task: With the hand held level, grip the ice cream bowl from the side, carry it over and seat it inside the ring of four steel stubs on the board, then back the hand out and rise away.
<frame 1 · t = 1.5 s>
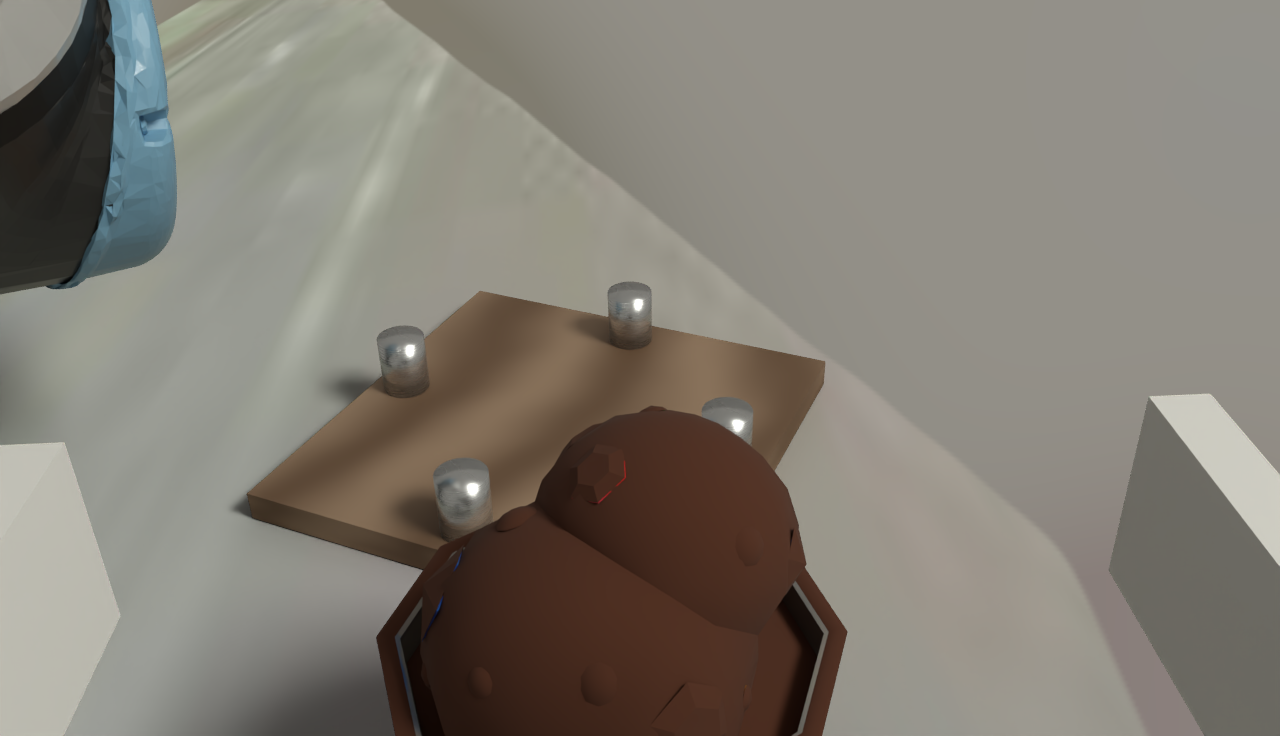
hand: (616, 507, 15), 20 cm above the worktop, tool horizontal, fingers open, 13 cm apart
stub board: (559, 445, 51), on the worktop
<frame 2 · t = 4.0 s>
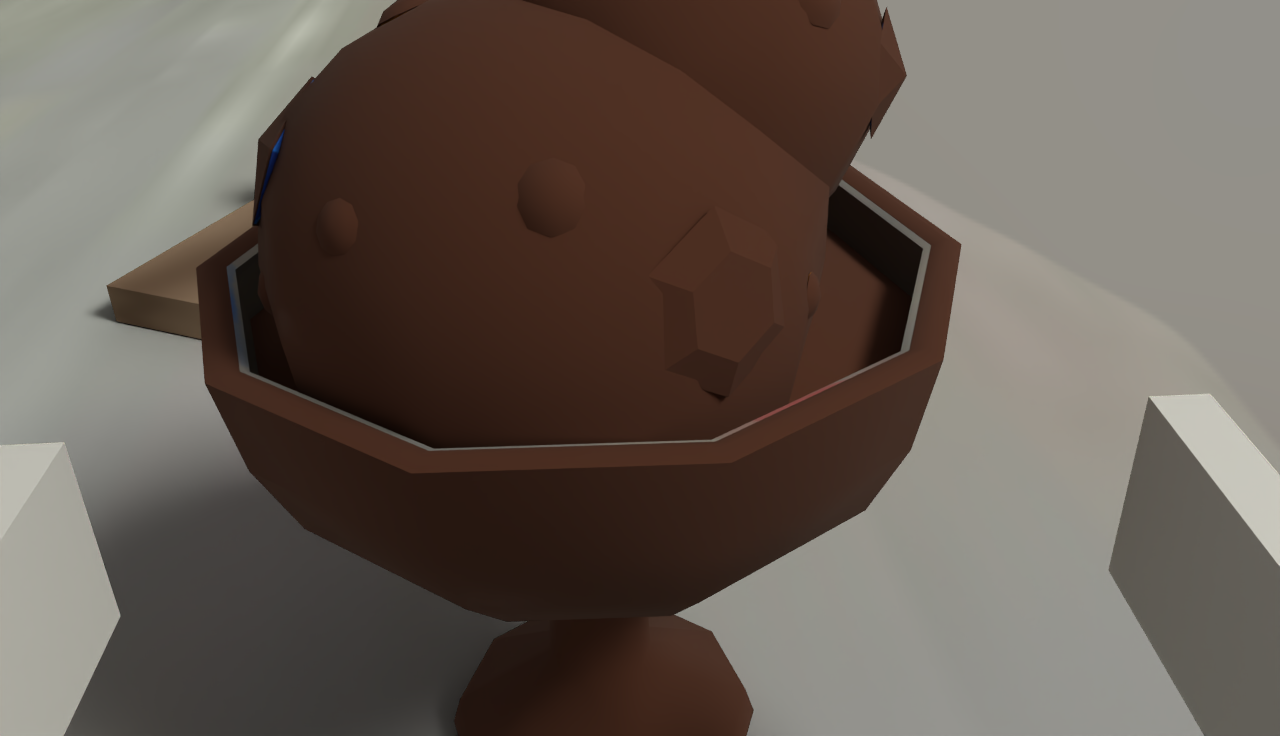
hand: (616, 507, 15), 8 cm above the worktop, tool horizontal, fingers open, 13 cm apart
stub board: (519, 244, 40), on the worktop
ice cream bowl: (604, 723, 22), on the worktop
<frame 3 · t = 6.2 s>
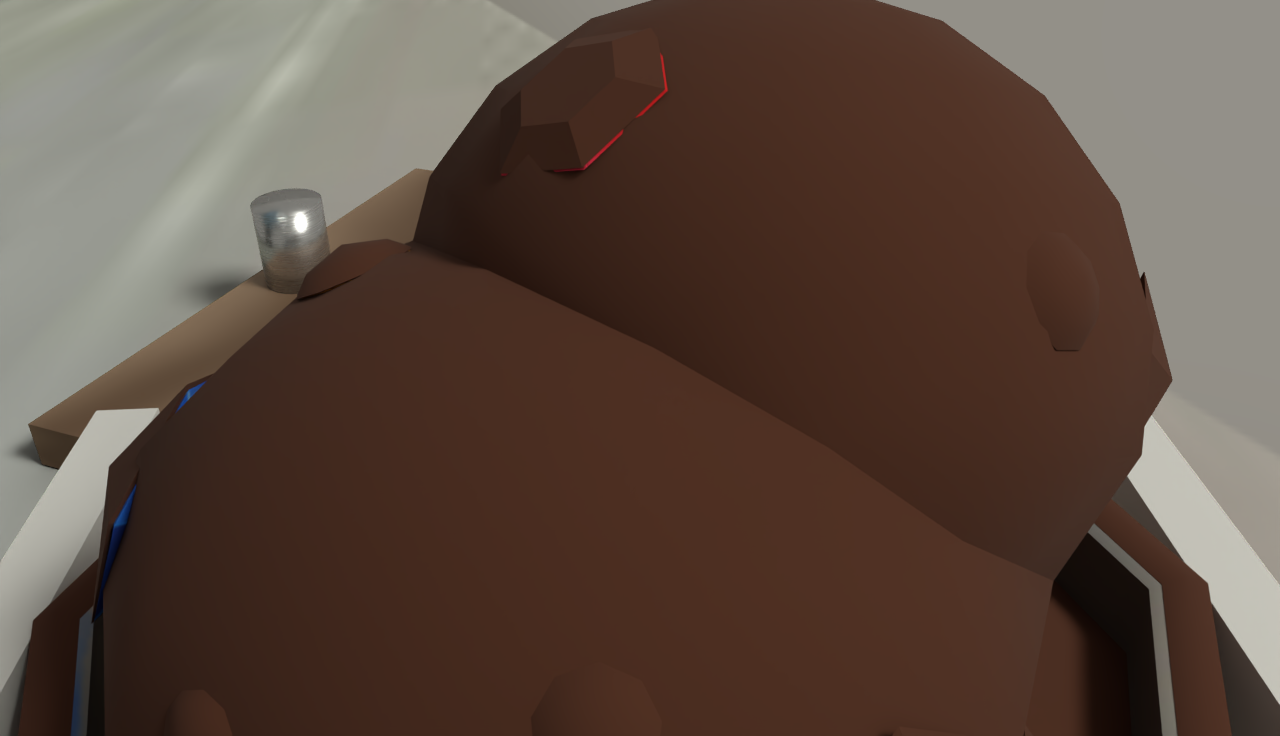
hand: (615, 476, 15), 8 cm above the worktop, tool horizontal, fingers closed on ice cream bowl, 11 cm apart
stub board: (525, 357, 34), on the worktop
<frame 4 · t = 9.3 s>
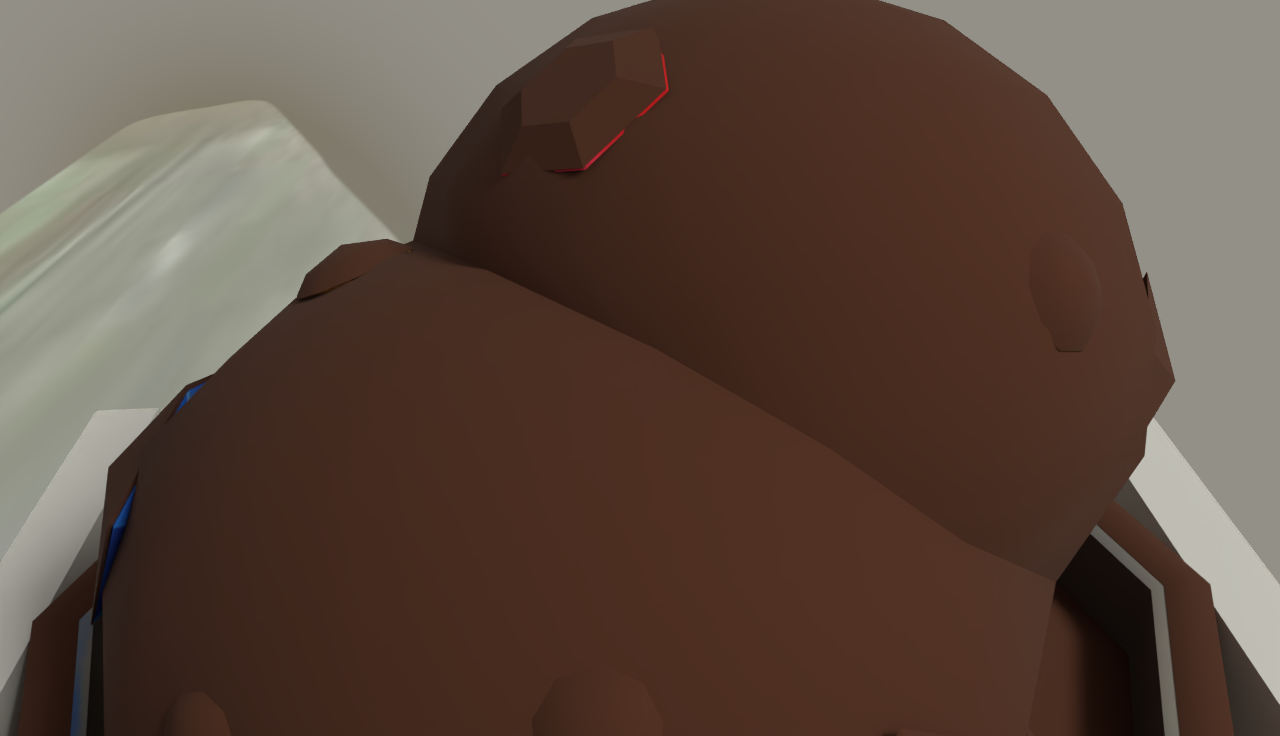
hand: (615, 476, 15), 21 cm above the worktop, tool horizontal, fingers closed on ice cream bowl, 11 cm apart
when the fingers open (11 cm above the worktop, at t = 12.4 s): ice cream bowl drops 2 cm, resting on stub board.
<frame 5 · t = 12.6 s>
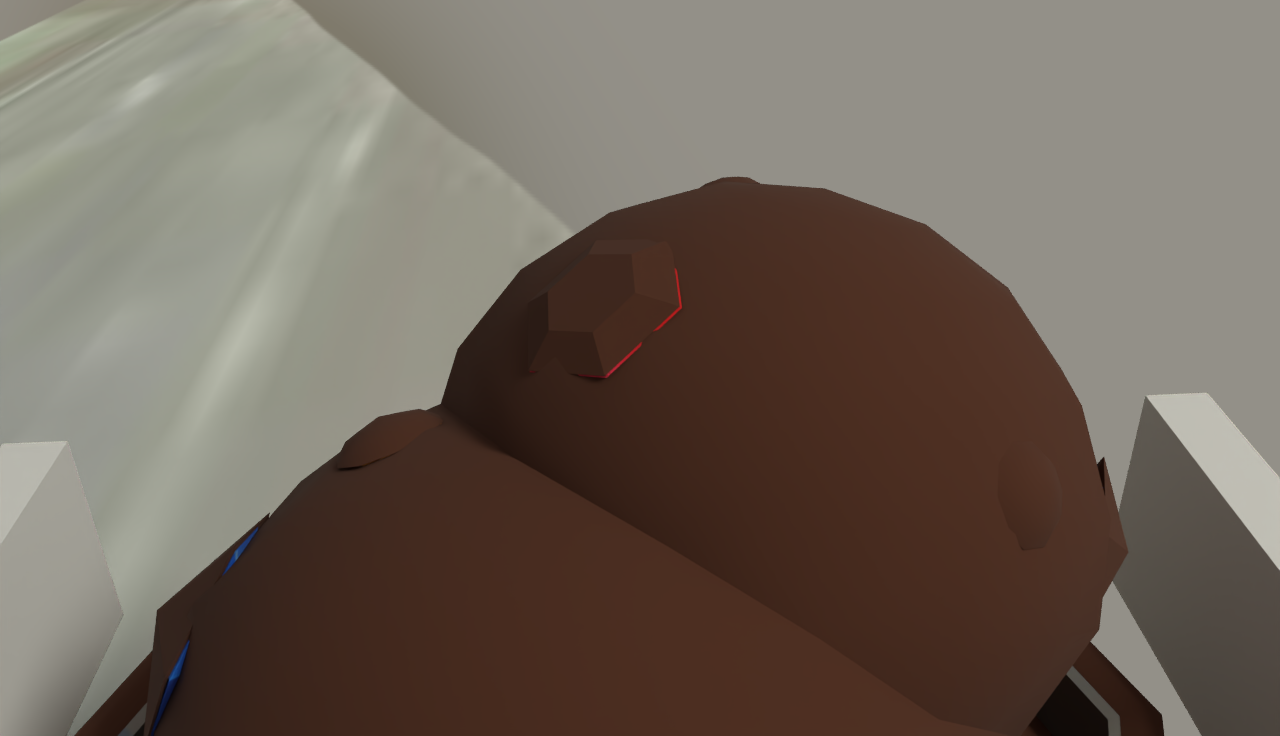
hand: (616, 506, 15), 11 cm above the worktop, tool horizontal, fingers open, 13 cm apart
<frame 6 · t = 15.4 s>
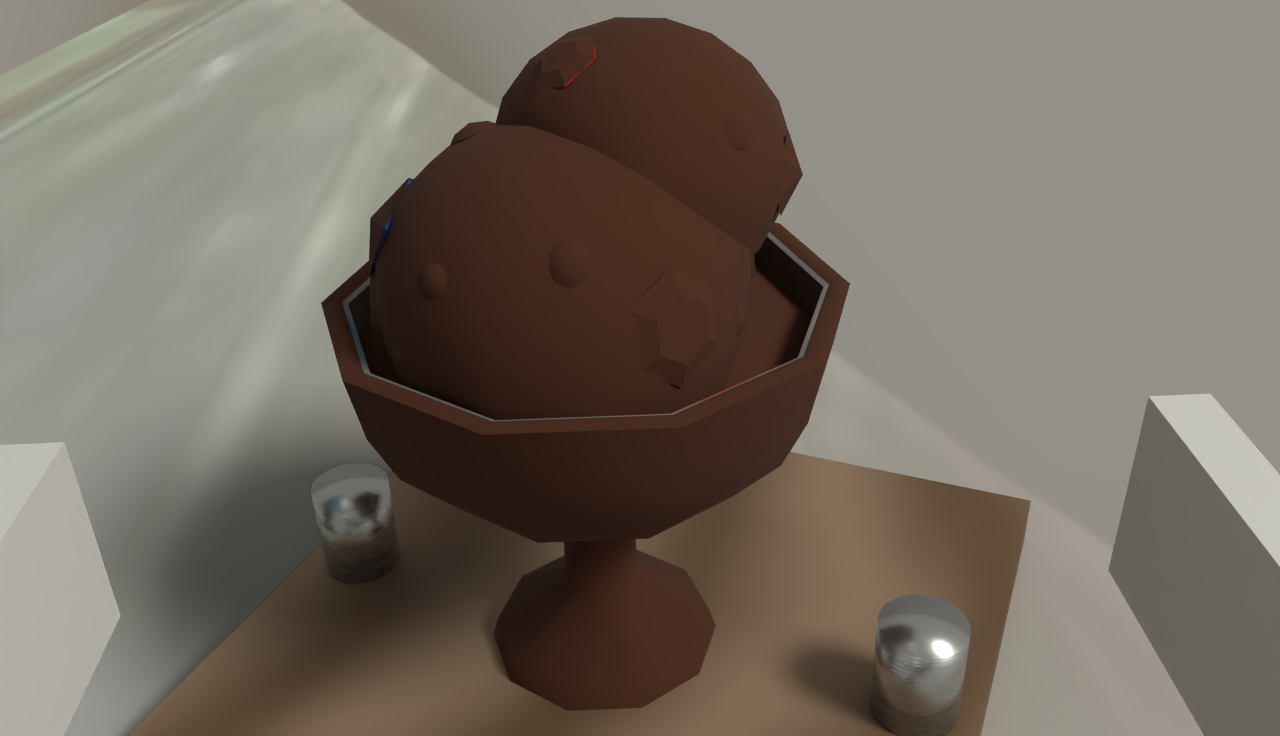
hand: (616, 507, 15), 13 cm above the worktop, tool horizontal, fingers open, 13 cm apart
stub board: (616, 662, 31), on the worktop
ice cream bowl: (605, 636, 30), point 1 cm above the worktop, touching stub board
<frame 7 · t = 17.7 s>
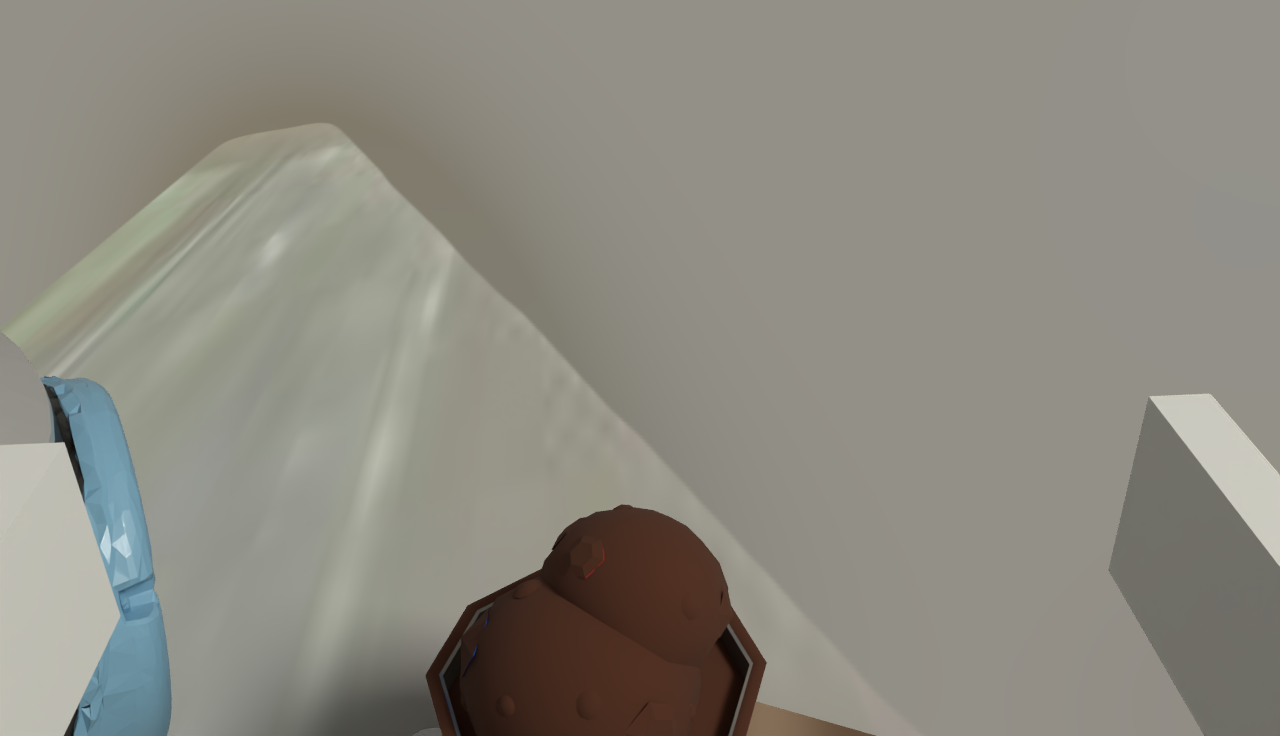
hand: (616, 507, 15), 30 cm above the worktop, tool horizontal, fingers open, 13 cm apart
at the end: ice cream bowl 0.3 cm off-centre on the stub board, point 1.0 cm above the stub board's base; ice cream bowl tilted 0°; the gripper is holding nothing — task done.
